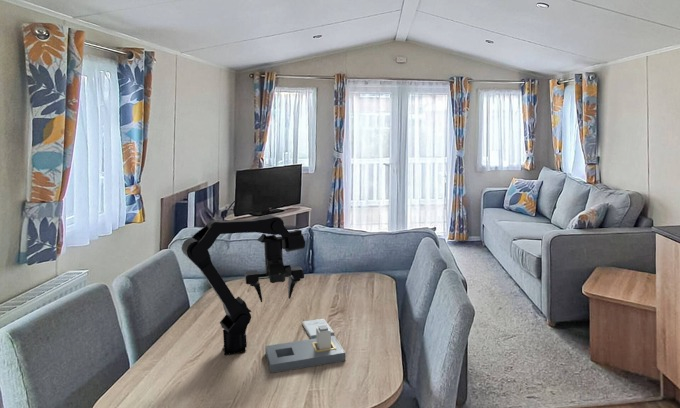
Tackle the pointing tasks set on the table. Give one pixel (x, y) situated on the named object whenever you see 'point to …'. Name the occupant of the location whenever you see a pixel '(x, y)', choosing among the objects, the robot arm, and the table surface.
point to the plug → (323, 337)
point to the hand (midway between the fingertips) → (275, 300)
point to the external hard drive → (313, 324)
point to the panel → (302, 355)
